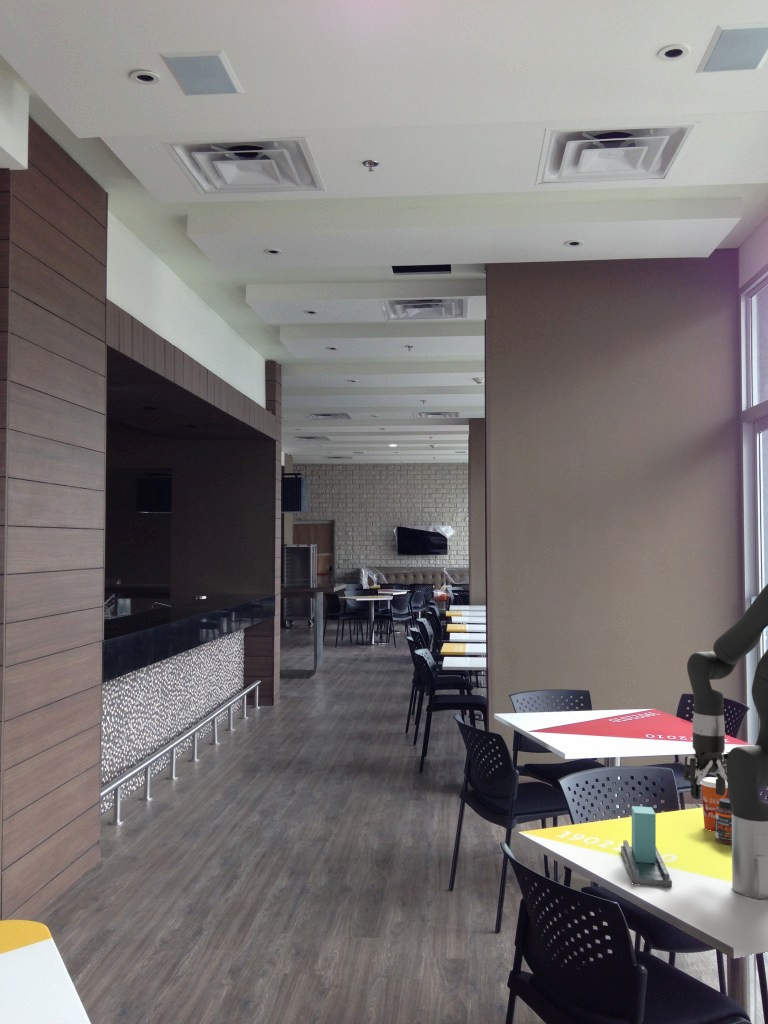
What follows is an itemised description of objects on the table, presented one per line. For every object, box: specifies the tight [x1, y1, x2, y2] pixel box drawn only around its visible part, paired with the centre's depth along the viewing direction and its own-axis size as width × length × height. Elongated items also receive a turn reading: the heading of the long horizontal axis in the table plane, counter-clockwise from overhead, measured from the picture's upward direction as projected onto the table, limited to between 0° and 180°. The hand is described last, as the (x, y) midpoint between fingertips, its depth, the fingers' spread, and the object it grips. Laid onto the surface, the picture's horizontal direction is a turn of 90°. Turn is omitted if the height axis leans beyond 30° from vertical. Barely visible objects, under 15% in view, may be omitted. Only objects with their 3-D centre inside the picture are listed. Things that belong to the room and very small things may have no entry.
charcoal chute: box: [620, 839, 673, 889], centre depth 205 cm, size 23×9×3 cm, turn 170°
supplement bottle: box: [714, 798, 732, 846], centre depth 227 cm, size 6×6×11 cm
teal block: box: [631, 805, 657, 864], centre depth 208 cm, size 6×5×12 cm
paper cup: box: [700, 776, 728, 832], centre depth 238 cm, size 8×8×14 cm
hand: (708, 796), depth 206 cm, fingers open, 8 cm apart
